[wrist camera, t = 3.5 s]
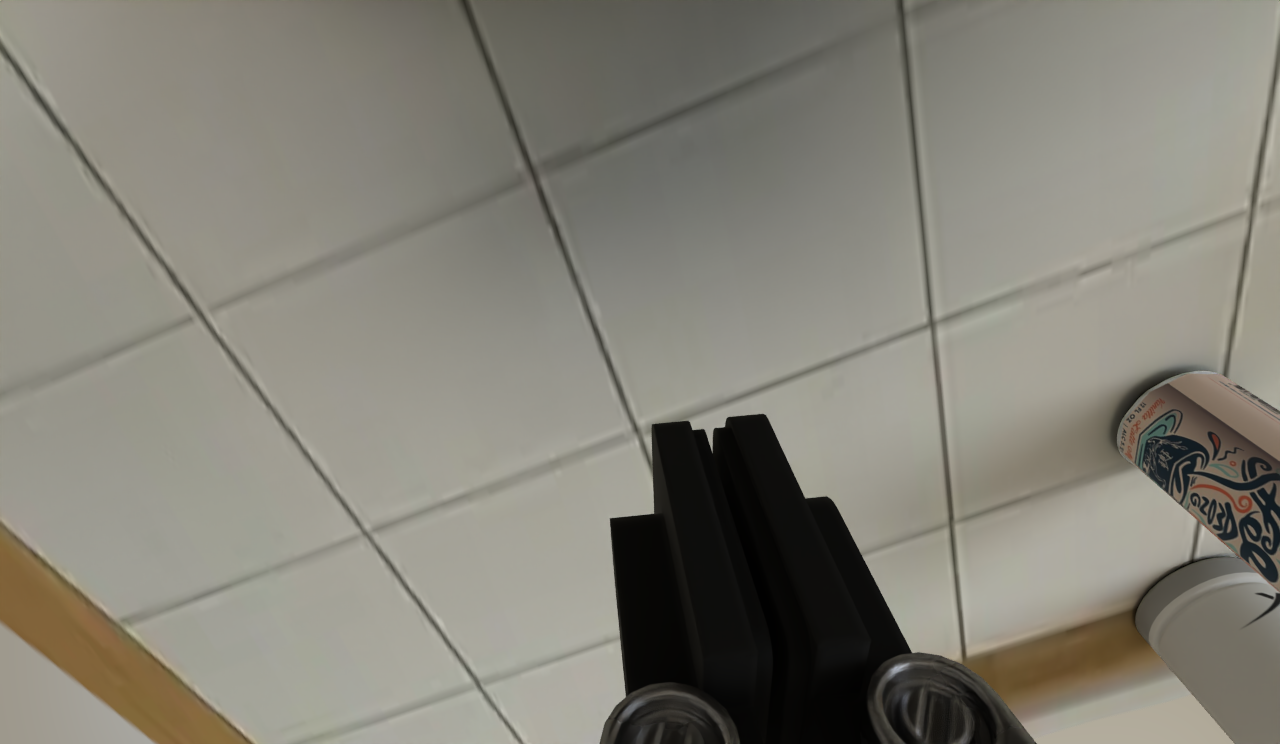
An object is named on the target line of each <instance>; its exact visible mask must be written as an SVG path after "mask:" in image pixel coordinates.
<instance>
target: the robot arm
mask: <svg viewBox="0 0 1280 744" xmlns="http://www.w3.org/2000/svg"><path fill="white" fill-rule="evenodd" d="M652 458H653V488H654V514H649V515H639V516H629V517H619V518H610V527H611V540H612V552H613V565H614V576H615V588H616V599H617V609H618V620H619V630H620V640H621V650H622V660H623V671H624V681H625V691H626V698H625V699H623V700H622V701H621V702H620V703H619V704H618V705H616V707H615V708H614V710H613V711H612V713H611V714H610V716H609V718H608V719H607V721H606V722H605V725H604V728H603V732H602V736H601V740H600V744H1036V742H1035V741H1034V740H1033V739H1032V737H1031V736H1030V735H1029V733H1028V732H1027V731H1026V730H1025V728H1024V727H1023V726H1022V724H1021V723H1020V722H1019V721H1018V719H1017V718H1016V717H1015V715H1014V714H1013V713H1012V712H1011V710H1010V709H1009V708H1008V706H1007V705H1006V704H1005V703H1004V701H1003V700H1002V699H1001V697H1000V696H999V695H998V694H997V693H996V692H995V691H994V690H993V689H992V688H991V687H990V686H989V685H988V683H987V682H986V681H985V680H984V679H983V678H982V677H980V676H979V675H977V674H976V673H974V672H973V671H971V670H970V669H968V668H967V667H965V666H964V665H962V664H960V663H957V662H955V661H952V660H950V659H947V658H945V657H942V656H939V655H933V654H926V653H919V652H918V653H912V652H911V650H910V648H909V646H908V644H907V642H906V640H905V638H904V637H903V635H902V633H901V631H900V629H899V627H898V625H897V623H896V621H895V619H894V617H893V615H892V613H891V611H890V609H889V607H888V606H887V604H886V602H885V600H884V598H883V596H882V594H881V592H880V590H879V588H878V586H877V584H876V582H875V580H874V578H873V576H872V575H871V573H870V571H869V569H868V567H867V565H866V563H865V561H864V559H863V557H862V555H861V553H860V551H859V549H858V547H857V545H856V544H855V542H854V540H853V538H852V536H851V534H850V532H849V530H848V528H847V526H846V524H845V522H844V520H843V518H842V516H841V514H840V513H839V511H838V509H837V507H836V505H835V504H834V502H833V501H832V500H831V499H830V498H828V497H827V496H826V497H817V498H807V499H805V497H804V495H803V493H802V491H801V489H800V487H799V484H798V482H797V480H796V478H795V476H794V474H793V472H792V469H791V467H790V465H789V463H788V461H787V459H786V456H785V454H784V452H783V450H782V448H781V446H780V444H779V441H778V439H777V437H776V435H775V433H774V431H773V429H772V426H771V424H770V422H769V420H768V418H767V417H766V415H764V414H757V415H746V416H736V417H728V418H727V419H726V424H725V427H722V428H715V429H714V432H713V454H712V451H711V448H710V445H709V441H708V438H707V435H706V432H705V430H704V429H700V430H692V427H691V424H690V422H689V421H681V422H670V423H659V424H652Z"/></svg>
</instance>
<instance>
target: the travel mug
mask: <svg viewBox="0 0 1280 744" xmlns="http://www.w3.org/2000/svg"><path fill="white" fill-rule="evenodd" d="M1135 624H1136V627H1137V630H1138V632H1139V633H1140V634H1141V635H1142V637H1143V638H1144V639H1145V640H1146V641H1147V642H1148V644H1149V645H1150V646H1151V647H1152V648H1153V649H1154V651H1155V652H1156V653H1157V654H1158V655H1159V656H1161V658H1162V660H1163V661H1164V662H1165V663H1166V664H1167V666H1168V667H1169V668H1170V669H1171V670H1172V671H1173V673H1174V674H1175V675H1176V676H1177V677H1178V678H1179V680H1180V681H1181V682H1182V683H1183V684H1184V685H1185V687H1186V688H1187V689H1188V690H1189V691H1190V692H1191V694H1192V695H1193V696H1194V697H1195V698H1196V699H1197V700H1198V701H1199V703H1200V704H1201V705H1202V706H1203V707H1204V709H1205V710H1206V711H1207V712H1208V713H1209V714H1210V716H1211V717H1212V718H1213V719H1214V720H1215V721H1216V722H1217V724H1218V725H1219V726H1220V727H1221V728H1222V730H1223V731H1224V732H1225V733H1226V734H1227V735H1228V736H1229V738H1230V739H1231V740H1232V741H1233V742H1234V743H1235V744H1280V592H1278V591H1277V590H1276V589H1275V588H1274V587H1273V586H1272V585H1271V584H1269V583H1268V582H1267V581H1266V580H1265V579H1264V578H1263V577H1261V576H1260V575H1259V574H1258V573H1257V572H1256V571H1255V570H1253V569H1252V568H1251V567H1250V566H1249V565H1248V564H1247V563H1246V562H1244V561H1243V560H1242V559H1240V558H1233V557H1217V558H1211V559H1206V560H1201V561H1198V562H1195V563H1192V564H1189V565H1187V566H1185V567H1182V568H1180V569H1178V570H1176V571H1175V572H1173V573H1171V574H1169V575H1168V576H1166V577H1165V578H1164V579H1162V580H1161V581H1159V582H1158V583H1157V584H1156V585H1155V586H1154V587H1153V588H1152V589H1151V590H1150V591H1149V592H1148V593H1147V594H1146V595H1145V597H1144V598H1143V600H1142V601H1141V603H1140V605H1139V607H1138V609H1137V612H1136V617H1135Z"/></svg>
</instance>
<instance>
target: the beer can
mask: <svg viewBox="0 0 1280 744" xmlns="http://www.w3.org/2000/svg"><path fill="white" fill-rule="evenodd" d="M1117 445H1118V449H1119V452H1120V453H1121V455H1122V457H1124V458H1125V459H1126V460H1127V461H1129V462H1130V463H1132V464H1133V465H1135V466H1137V467H1138V468H1139V469H1140V470H1141V471H1142V472H1143V473H1145V474H1146V475H1147V476H1148V477H1149V478H1150V479H1151V480H1152V481H1154V482H1155V483H1156V484H1157V485H1158V486H1159V487H1160V488H1162V489H1163V490H1164V491H1165V492H1166V493H1167V494H1168V495H1169V496H1171V497H1172V498H1173V499H1174V500H1175V501H1176V502H1177V503H1179V504H1180V505H1181V506H1182V507H1183V508H1184V509H1185V510H1187V511H1188V512H1189V513H1190V514H1191V515H1192V516H1193V517H1194V518H1196V519H1197V520H1198V521H1199V522H1200V523H1201V524H1202V525H1204V526H1205V527H1206V528H1207V529H1208V530H1209V531H1210V532H1211V533H1213V534H1214V535H1215V536H1216V537H1217V538H1218V539H1219V540H1221V541H1222V542H1223V543H1224V544H1225V545H1226V546H1227V547H1229V548H1230V549H1231V550H1232V551H1233V552H1234V553H1235V554H1236V555H1238V556H1239V557H1240V558H1241V559H1242V560H1243V561H1244V562H1246V563H1247V564H1248V565H1249V566H1250V567H1251V568H1252V569H1253V570H1255V571H1256V572H1257V573H1258V574H1259V575H1260V576H1261V577H1263V578H1264V579H1265V580H1266V581H1267V582H1268V583H1269V584H1271V585H1272V586H1273V587H1274V588H1275V589H1276V590H1277V591H1278V592H1280V411H1278V410H1277V409H1275V408H1274V407H1272V406H1271V405H1269V404H1267V403H1266V402H1264V401H1263V400H1261V399H1259V398H1258V397H1256V396H1255V395H1253V394H1251V393H1250V392H1248V391H1247V390H1245V389H1244V388H1242V387H1240V386H1239V385H1237V384H1236V383H1234V382H1232V381H1231V380H1229V379H1228V378H1226V377H1225V376H1223V375H1221V374H1219V373H1216V372H1211V371H1201V370H1200V371H1193V372H1186V373H1182V374H1179V375H1176V376H1173V377H1171V378H1168V379H1166V380H1165V381H1163V382H1161V383H1160V384H1158V385H1156V386H1154V387H1153V388H1151V389H1149V390H1147V391H1146V392H1145V393H1144V394H1143V395H1142V396H1141V397H1139V398H1138V400H1137V401H1136V402H1135V403H1134V405H1133V406H1132V407H1131V408H1130V409H1129V411H1128V412H1127V413H1126V414H1125V416H1124V417H1123V419H1122V421H1121V423H1120V426H1119V429H1118V433H1117Z"/></svg>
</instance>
